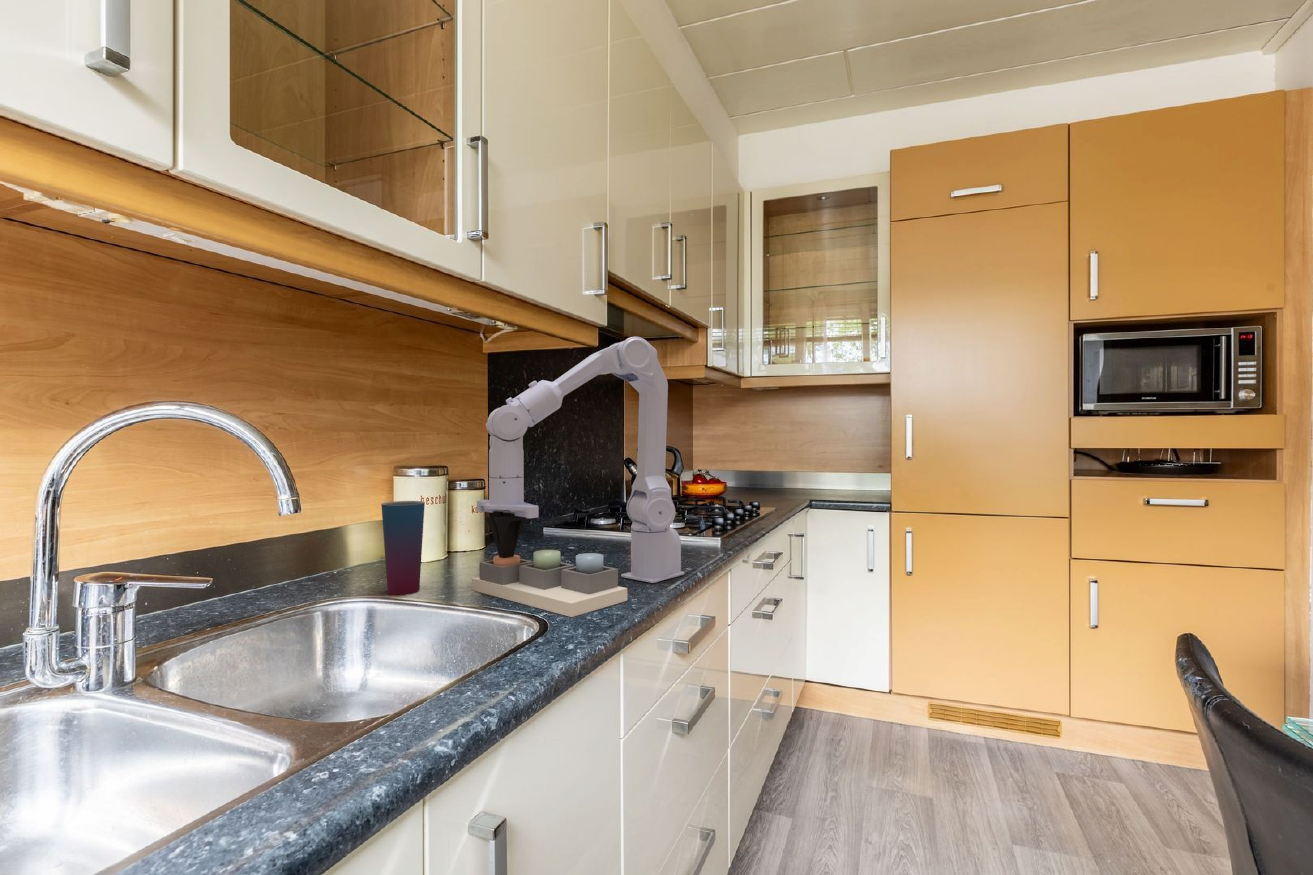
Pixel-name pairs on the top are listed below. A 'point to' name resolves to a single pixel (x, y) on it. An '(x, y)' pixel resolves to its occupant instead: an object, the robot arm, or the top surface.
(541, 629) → the top surface
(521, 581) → the panel
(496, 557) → the button terracotta
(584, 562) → the button blue
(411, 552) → the cup
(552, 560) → the button green
